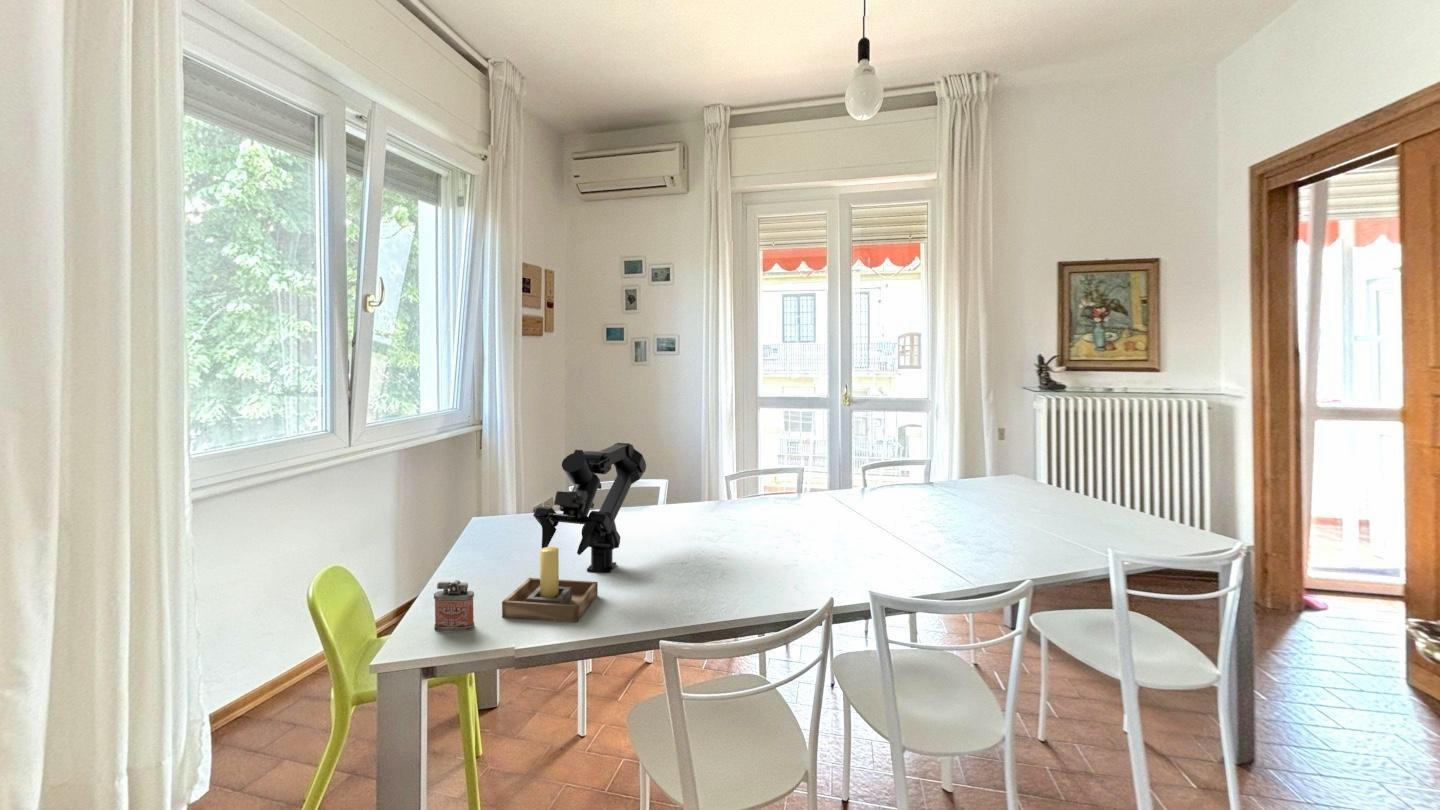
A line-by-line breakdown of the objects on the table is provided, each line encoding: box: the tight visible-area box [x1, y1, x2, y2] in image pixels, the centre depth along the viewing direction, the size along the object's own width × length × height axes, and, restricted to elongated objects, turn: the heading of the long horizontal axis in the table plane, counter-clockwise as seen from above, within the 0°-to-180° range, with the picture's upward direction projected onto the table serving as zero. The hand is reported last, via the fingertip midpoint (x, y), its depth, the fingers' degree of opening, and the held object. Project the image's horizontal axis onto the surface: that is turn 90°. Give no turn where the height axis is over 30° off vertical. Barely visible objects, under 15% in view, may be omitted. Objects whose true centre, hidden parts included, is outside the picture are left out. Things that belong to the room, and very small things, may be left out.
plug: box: [539, 546, 560, 598], centre depth 131 cm, size 4×4×13 cm
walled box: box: [501, 577, 599, 623], centre depth 133 cm, size 14×17×4 cm
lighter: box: [433, 579, 475, 632], centre depth 121 cm, size 8×3×10 cm, turn 92°
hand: (560, 552), depth 135 cm, fingers open, 9 cm apart
